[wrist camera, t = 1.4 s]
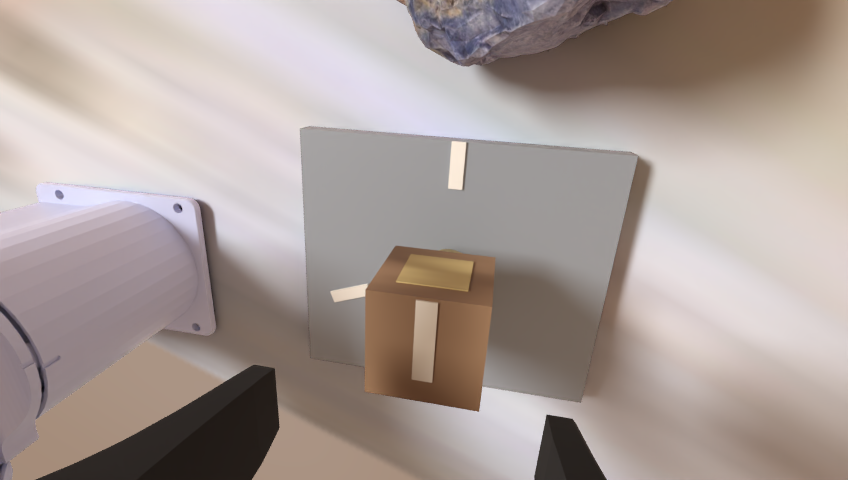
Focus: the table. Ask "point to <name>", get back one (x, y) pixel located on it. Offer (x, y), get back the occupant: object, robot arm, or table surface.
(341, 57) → the table surface
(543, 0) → the rock
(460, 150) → the plate
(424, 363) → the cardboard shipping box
